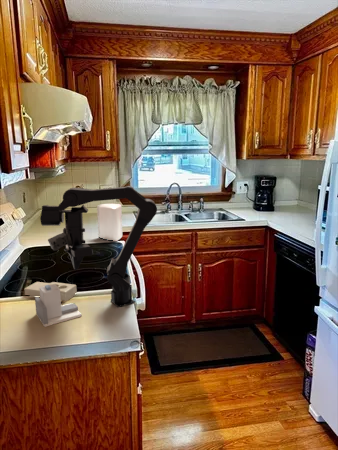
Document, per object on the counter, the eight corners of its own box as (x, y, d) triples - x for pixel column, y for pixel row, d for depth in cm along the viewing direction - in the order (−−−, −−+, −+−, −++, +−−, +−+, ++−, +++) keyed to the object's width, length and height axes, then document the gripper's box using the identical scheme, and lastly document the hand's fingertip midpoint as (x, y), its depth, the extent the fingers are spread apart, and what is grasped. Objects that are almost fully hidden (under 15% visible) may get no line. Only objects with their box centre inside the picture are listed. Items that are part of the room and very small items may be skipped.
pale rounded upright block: (117, 241, 202) (116, 205, 197) (94, 241, 204) (92, 205, 199) (123, 235, 217) (122, 202, 212) (102, 235, 218) (100, 201, 214)
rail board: (71, 305, 119) (70, 289, 118) (81, 316, 111) (80, 299, 110) (36, 314, 112) (34, 297, 111) (44, 326, 104) (42, 308, 103)
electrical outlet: (36, 279, 133) (76, 284, 128) (37, 289, 134) (77, 294, 129) (24, 286, 126) (65, 291, 121) (25, 296, 127) (66, 302, 122)
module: (56, 309, 114) (54, 281, 112) (61, 315, 109) (59, 287, 107) (41, 313, 111) (39, 284, 109) (46, 319, 107) (43, 290, 104)
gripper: (42, 222, 116) (45, 265, 120) (57, 233, 101) (60, 282, 105) (74, 219, 123) (75, 260, 126) (93, 229, 107) (94, 275, 111)
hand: (75, 269), depth 117 cm, fingers closed
